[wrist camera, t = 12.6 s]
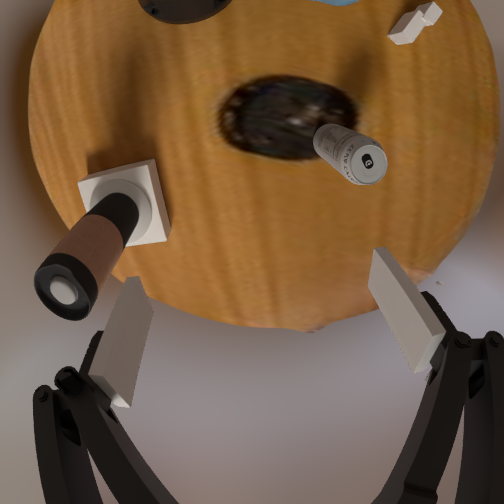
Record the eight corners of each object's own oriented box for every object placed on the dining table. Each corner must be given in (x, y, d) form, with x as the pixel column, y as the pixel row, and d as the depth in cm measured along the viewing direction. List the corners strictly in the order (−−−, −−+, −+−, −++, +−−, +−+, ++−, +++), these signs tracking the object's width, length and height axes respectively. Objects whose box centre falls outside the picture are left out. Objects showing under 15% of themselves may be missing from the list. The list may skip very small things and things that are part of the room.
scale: (85, 175, 41) (72, 185, 37) (154, 158, 41) (145, 166, 37) (105, 239, 48) (96, 253, 44) (171, 229, 48) (165, 243, 44)
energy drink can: (322, 164, 43) (358, 198, 31) (304, 133, 41) (336, 155, 28) (352, 147, 42) (398, 175, 29) (336, 116, 39) (380, 130, 26)
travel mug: (111, 239, 43) (60, 326, 26) (90, 200, 39) (21, 275, 22) (149, 225, 42) (104, 315, 25) (128, 182, 38) (62, 256, 21)
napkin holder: (385, 55, 33) (403, 53, 29) (364, -3, 28) (379, -11, 23) (446, 53, 32) (466, 53, 27) (429, 1, 26) (447, -4, 21)
